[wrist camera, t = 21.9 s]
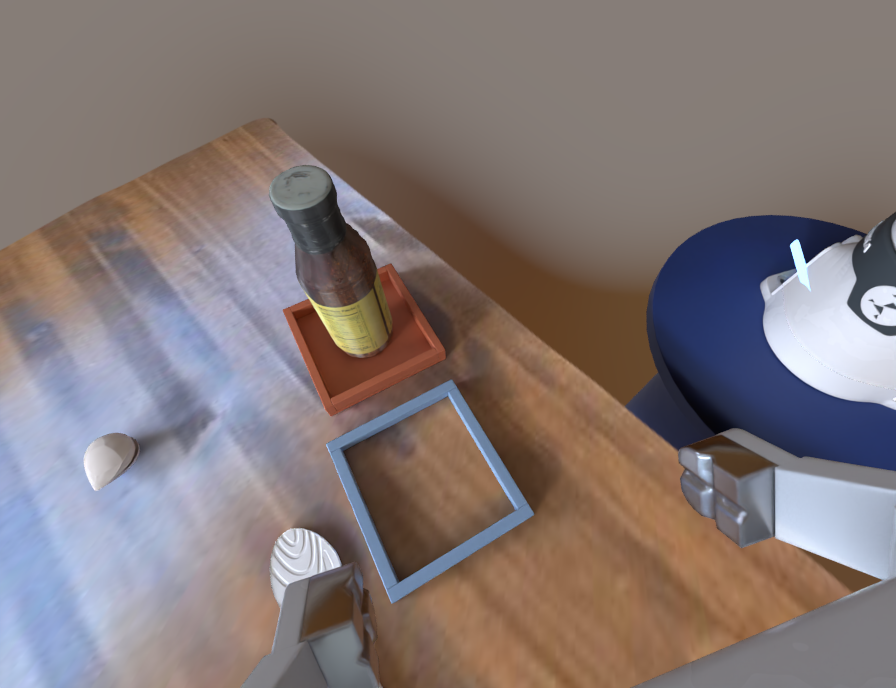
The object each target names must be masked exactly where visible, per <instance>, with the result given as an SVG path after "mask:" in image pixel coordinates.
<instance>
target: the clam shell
mask: <svg viewBox="0 0 896 688" xmlns="http://www.w3.org/2000/svg"><path fill="white" fill-rule="evenodd" d="M139 452H140V448H139V444H138V442H137V441H136V440H135V439H134V438H132V437H129V436H127V435H125V434H121V433H111V434H107V435H104V436H102V437H99V438H98V439H96V440H95V441H93V442H92V443H91V444H90V445H89V446H88V448H87V450H86V452H85V456H84V468H85V471H86V474H87V477H88V479H89V481H90V483H91V485H92V487H93V489H94V490H95V491H98V490H100V489H101V488H103V487H104V486H106V485H108V484H109V483H111V482H112V481H114V480H115V479H117V478H118V477H120V476H121V475H122V474H123V473H125V472H126V471H127V470H128V469H129V468H130V467H131V466H132V465H133V464H134V462H135V461H136V460H137V458H138V455H139Z"/></svg>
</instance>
